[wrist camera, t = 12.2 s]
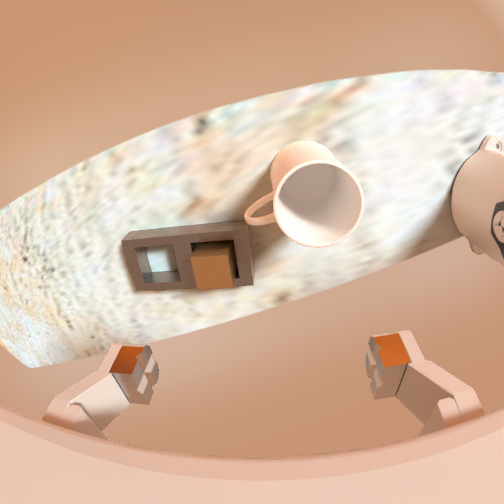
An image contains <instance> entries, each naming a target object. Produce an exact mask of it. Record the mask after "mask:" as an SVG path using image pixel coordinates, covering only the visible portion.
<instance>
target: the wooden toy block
mask: <svg viewBox="0 0 504 504" xmlns="http://www.w3.org/2000/svg"><path fill="white" fill-rule="evenodd" d="M190 260H191V264H192V268H193V272H194V276H195V280H196V284H197V288H198V290H201V289H219V288H233V286H234V281H235V276H236V271H237V266H238V264H237V257H236V251H235V244H234V239H232V240H220V241H207V242H198V243H197V245H196V247H195V249H194V251H193V253H192V255H191V257H190Z"/></svg>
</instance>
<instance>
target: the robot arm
mask: <svg viewBox="0 0 504 504" xmlns="http://www.w3.org/2000/svg"><path fill="white" fill-rule="evenodd" d="M496 145H497V147H496ZM451 209H452V215H453V219H454V222H455V225H456V226H457V228H458V230H459V231H460V232H461V233H462V234H463V235H464V236H465V237H466V238H467V239H468V240H469V243H470V246H471V249H472V251H473V252H475V253H476V254H482V253H485V254H486V255H488V256H489V257H490V258H492V259H493V260H494V261H496V262H497V263H498V264H500V265H501V266H504V141H503V140H501V139H499V138H497V137H494V136H492V135H488V136H487V137H486V138H485V139H484V141H483V143H482V145H481V147H480V149H479V150H478V151H477V152H476V153H475V154H473V155H472V156H471V157H470V158H469V159H468V160H467V161H466V162H465V163H464V164H463V166H462V167H461V169H460V171H459V173H458V175H457V177H456V180H455V183H454V186H453V191H452V198H451ZM369 347H370V350H369V351H368V352H367V354H366V371H367V374H368V377H370V378H371V379H372V382H371V389H372V393H373V397H374V399H380V398H388V397H394V396H396V398H397V399H398V400H399V401H400V402H401V403H402V404H404V406H405V407H406V408H407V409H408V410H410V411H411V412H412V413H413V414H414V415H415V416H416V417H417V418H418V419H419V420H420V421H421V422H422V423H423V424H424V427H423V428H422V430H421V432H420V433H419V435H418V436H417V437H413V438H409V439H405V440H401V441H397V442H392V443H387V444H383V445H377V446H372V447H367V448H360V449H354V450H347V451H340V452H331V453H323V454H310V455H297V456H275V457H238V456H215V455H201V454H189V453H181V452H173V451H165V450H158V449H151V448H146V447H140V446H135V445H130V444H124V443H120V442H115V441H111V440H108V438H107V437H106V436H105V435H104V434H103V433H102V432H101V431H102V430H103V429H104V428H106V427H107V426H108V425H109V424H110V423H111V422H112V421H113V420H114V419H115V418H116V417H117V416H118V415H119V414H120V413H121V412H122V411H123V410H124V409H125V408H126V407H127V406H128V405H129V404H130V403H137V404H147V405H148V404H149V403H150V400H151V397H152V394H153V390H152V388H151V387H152V386H153V385H155V384H156V383H157V380H158V375H159V369H158V364H157V362H156V360H155V359H153V358H152V357H151V354H152V351H151V349H150V347H149V346H147V345H137V344H122V343H114V344H112V345H111V347H110V348H109V350H108V352H107V354H106V356H105V358H104V360H103V361H102V363H101V365H100V367H99V369H98V371H93V372H92V373H90V374H89V375H87V376H86V377H84V378H83V379H81V380H80V381H78V382H77V383H76V384H74V385H73V386H71V387H70V388H68V389H67V390H65V391H64V392H62V393H61V394H59V395H58V396H56V397H55V398H54V399H53V400H52V402H51V404H50V406H49V408H48V409H47V412H46V413H45V415H44V417H43V419H42V420H40V419H37V418H35V417H32V416H29V415H27V414H24V413H22V412H19V411H17V410H15V409H12V408H10V407H8V406H6V405H3V404H1V403H0V504H504V407H501V408H499V409H497V410H494V411H492V412H490V413H487V414H485V413H484V411H483V408H482V406H481V404H480V402H479V400H478V397H477V395H476V394H475V391H474V389H473V388H471V387H470V386H468V385H466V384H465V383H463V382H462V381H460V380H459V379H457V378H456V377H454V376H453V375H451V374H449V373H448V372H446V371H445V370H443V369H442V368H440V367H439V366H437V365H436V364H434V363H432V362H431V361H429V360H424V357H423V355H422V353H421V351H420V349H419V347H418V345H417V343H416V341H415V339H414V337H413V335H412V333H411V331H410V330H405V331H399V332H393V333H387V334H380V335H374V336H371V337H370V339H369Z"/></svg>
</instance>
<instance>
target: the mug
mask: <svg viewBox="0 0 504 504" xmlns="http://www.w3.org/2000/svg"><path fill="white" fill-rule="evenodd" d="M270 180H271V184H272V187H273V191H272V192H271V193H269V194H267V195H266V196H264V197H262V198H260V199H259V200H257V201H256V202H254V203H253V204H252V205H251V206H250V207H249V208H248V209H247V210H246V212H245V214H244V218H245V221H246V222H247V223H248V224H249V225H253V226H260V225H266V224H270V223H275V222H277V224H278V225H279V227H280V229H281V230H282V231H283V233H284V234H285V235H286V236H287V237H289V238H290V239H291V240H293V241H294V242H296V243H298V244H301V245H303V246H307V247H315V248H320V247H327V246H331V245H334V244H337V243H339V242H341V241H342V240H344V239H345V238H347V237H348V236H349V235H350V234H351V233H352V232H353V231H354V230H355V228H356V227H357V225H358V224H359V222H360V220H361V217H362V214H363V209H364V196H363V191H362V188H361V186H360V183H359V182H358V180H357V178H356V177H355V176H354V175H353V173H352V172H351V171H350V170H348V169H347V168H346V167H345V166H344V165H343V164H341V163H340V162H339V161H338V160H337V159H336V158H335V157H334V156H333V154H332V153H331V152H330V151H329V150H328V149H327V148H325V147H324V146H322V145H320V144H318V143H315V142H311V141H298V142H294V143H291V144H289V145H287V146H286V147H284V148H283V149H282V150H281V151H280V152H279V153H278V154H277V155H276V157H275V158H274V160H273V162H272V165H271V170H270ZM272 200H273V210H274V212H273V213H271V214H268V215H265V216H261V217H255V218H252V217H250V216H251V215H252V214H253V213H254V212H255V211H256V210H257V209H258V208H260V207H261V206H263V205H264V204H266V203H268V202H270V201H272Z"/></svg>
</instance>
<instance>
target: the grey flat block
mask: <svg viewBox="0 0 504 504" xmlns="http://www.w3.org/2000/svg"><path fill="white" fill-rule="evenodd" d="M232 239H234V244H235V251H236V257H237V264H238V267H237V271H236V276H235V281H234V286H249V285H254V275H255V272H254V264H253V255H252V247H251V239H250V231H249V224H248V223H247V222H246V221H245V220H244V221H232V222H220V223H209V224H199V225H188V226H178V227H168V228H159V229H149V230H140V231H131V232H129V233H128V234H127V235H126V236H125V237H124V238H123V239H122V240H121V242H122V245H123V248H124V252H125V255H126V258H127V261H128V265H129V268H130V271H131V274H132V277H133V280H134V283H135V286H136V289H137V290H165V289H190V288H197V284H196V280H195V276H194V272H193V268H192V264H191V260H190V257H191V255H192V253H193V251H194V249H195V247H196V245H197V242H207V241H220V240H232ZM171 244H172V245H173V249H174V254H175V258H176V262H177V266H178V270H179V271H164V272H152V271H151V268H150V265H149V261H148V258H147V254H146V250H145V247H147V246H159V245H171Z"/></svg>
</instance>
